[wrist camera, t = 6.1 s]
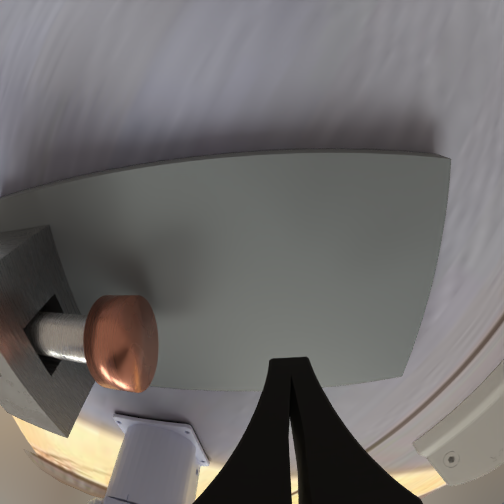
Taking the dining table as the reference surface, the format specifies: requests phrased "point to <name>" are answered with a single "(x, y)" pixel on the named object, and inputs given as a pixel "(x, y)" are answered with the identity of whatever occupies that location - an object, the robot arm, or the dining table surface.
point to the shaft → (103, 340)
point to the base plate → (257, 257)
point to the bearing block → (18, 345)
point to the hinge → (469, 435)
